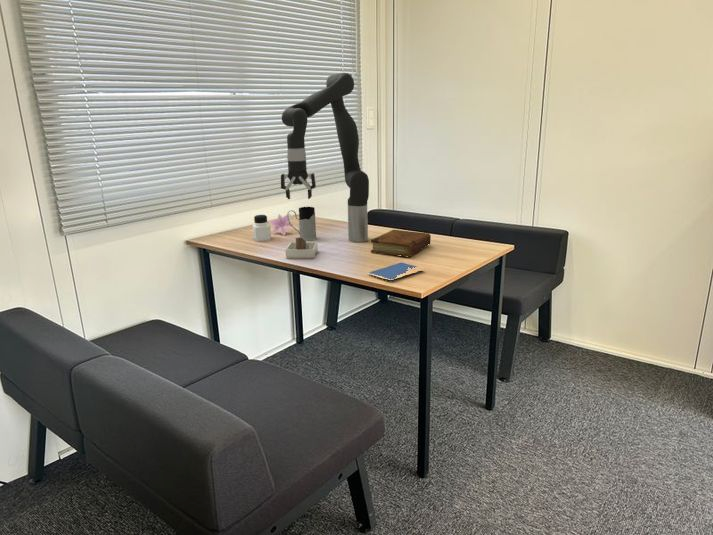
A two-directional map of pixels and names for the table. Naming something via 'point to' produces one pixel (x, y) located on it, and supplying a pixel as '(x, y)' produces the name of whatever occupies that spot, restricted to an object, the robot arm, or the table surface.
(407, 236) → the diary
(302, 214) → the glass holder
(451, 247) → the table surface
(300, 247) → the wooden plank piece
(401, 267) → the blue notebook
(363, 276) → the table surface
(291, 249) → the plank slot holder tray
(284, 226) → the lily
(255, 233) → the medicine bottle
